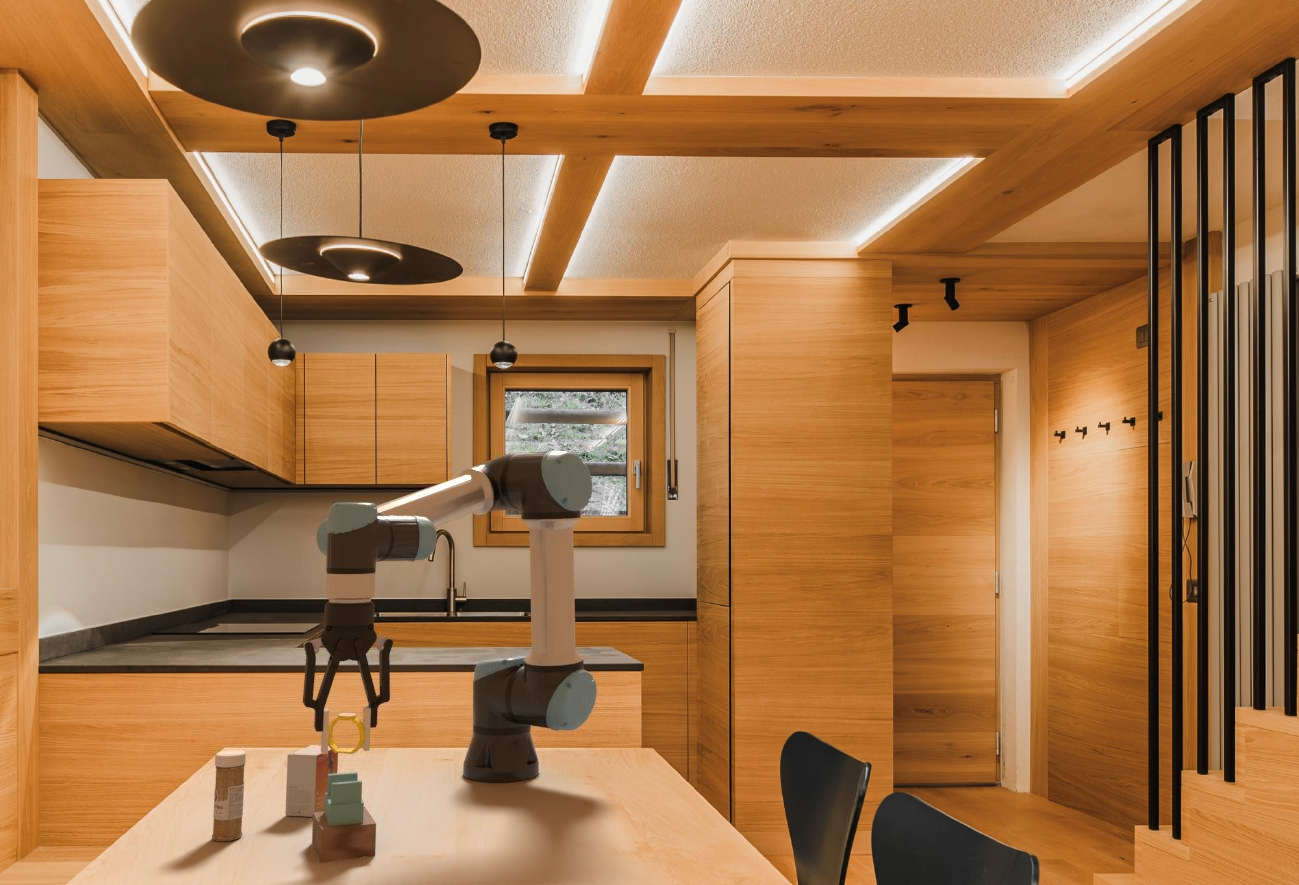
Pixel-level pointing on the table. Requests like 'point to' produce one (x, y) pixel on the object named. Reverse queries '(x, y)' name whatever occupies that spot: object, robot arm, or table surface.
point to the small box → (308, 780)
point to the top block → (344, 799)
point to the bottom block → (343, 838)
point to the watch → (359, 724)
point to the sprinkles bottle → (228, 795)
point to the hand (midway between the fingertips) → (345, 750)
